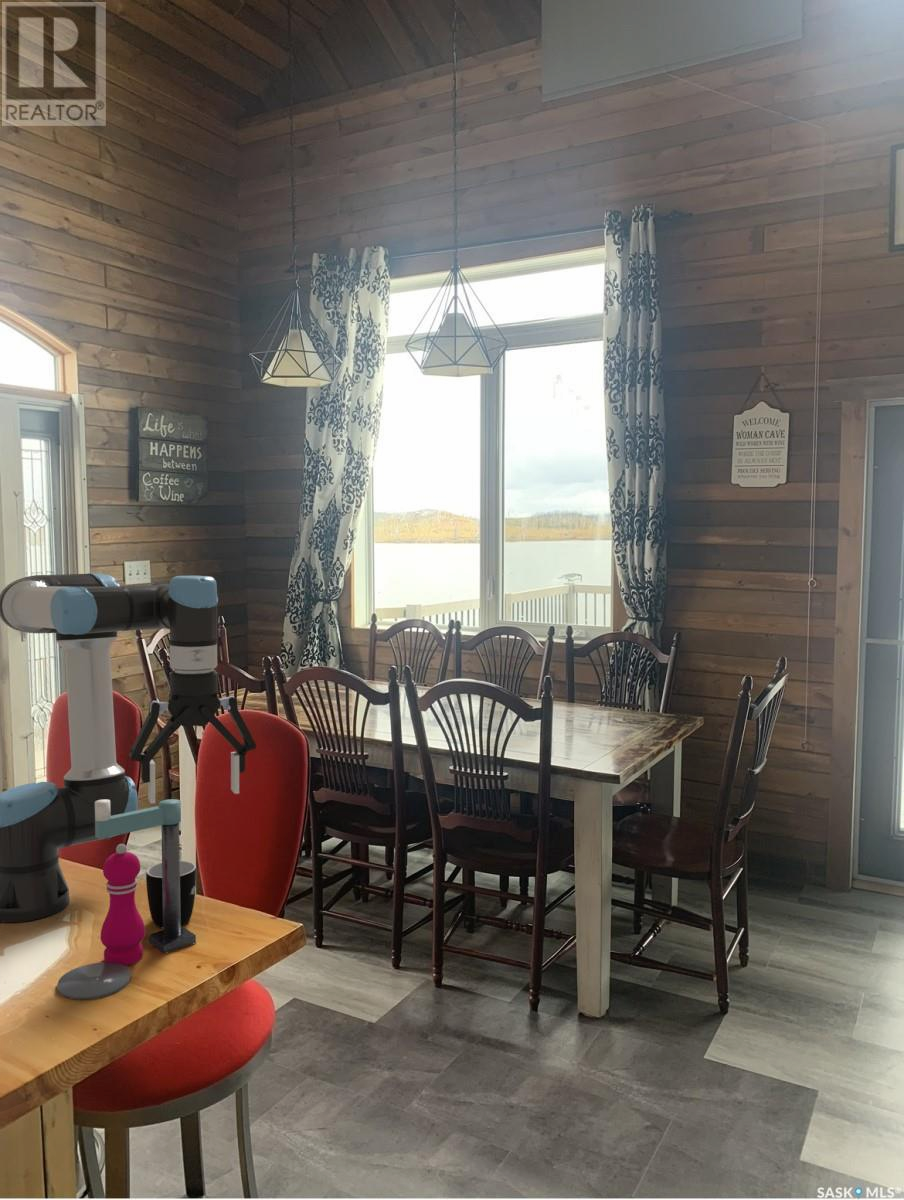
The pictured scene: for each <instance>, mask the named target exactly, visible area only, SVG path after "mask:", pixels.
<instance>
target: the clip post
mask: <svg viewBox="0 0 904 1200" xmlns="http://www.w3.org/2000/svg"><path fill="white" fill-rule="evenodd" d="M160 826H161V827H160V828H161V863H162V892H163V928H162V930H158V931H155V932H151V933H149V934H148V941H147V942H148V944H149V945H151V944H152V945H151V946H152V947H154V948H155V949H157V950H158V951H160V952H162V953H163V954H164V955H165V954H167V952H168V953H170V951H171V952H173V950H174V951H177V950H180V949H183V948H186V947H188V945H189V946H191V944H192V945H194V944H193V943H195V944H197V936H196V935H197V934H195V933H193V932H192V931H190V930H189V929H187V928H186V927H184V926H183V925H182V926H181V912H180V861H181V860H180V859H181V858H180V857H181V856H180V855H181V854H180V853H181V852H180V822H179V823H177V824H172V825H160ZM185 946H186V947H185ZM182 947H183V948H182ZM179 948H180V949H179ZM176 949H177V950H176Z"/></svg>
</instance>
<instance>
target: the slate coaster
mask: <svg viewBox="0 0 904 1200" xmlns="http://www.w3.org/2000/svg"><path fill="white" fill-rule="evenodd" d="M131 973H132V972H131V969H130V968H129V967H128V965H127V966H125V965H123V964H119V963H113V962H94V963H88V964H85V965H82V966H81V965H80V966H77V967H75V968H73V969H70V970H69V971H67V972H65V973H64V974H63V975H62V976H61V977H60V978H58V979H59V980H58V982H57V992H58V994H59V995H61V997H63V998H67V999H69V998H71V999H70V1000H76V999H77V1000H78V999H79V1000H80V1001H81V999H82V1000H83V999H87V1000H93V999H94V998H95V999H99V998H98V997H100V998H104V997H107V996H110V995H112V994H115V993H117V992H119V991H121V990H122V989H124V988H125V987H126V986H127V985H128V984H129V983H130V981H131V977H132V976H131ZM103 996H104V997H103ZM79 1000H78V1001H79ZM83 1001H84V1000H83Z"/></svg>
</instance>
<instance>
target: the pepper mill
mask: <svg viewBox="0 0 904 1200" xmlns="http://www.w3.org/2000/svg"><path fill="white" fill-rule="evenodd" d="M127 850H128V848H127V845H126V844H124V843H120V844H117V846H116V848H115V853H112V854H110V855H109V856H108V857H107V858H106V859H105V861H104V862H103V867H102V873H103V874H102V875H103V877H104V878H105V879H106V880H107V881H106V892H107V893H108V894H109V907H108V911H107V914H106V917H105V919H104V921H103V923H102V926H101V929H100V942H101V943H102V945H103V946H104V947H105V948H104V949H103V961H104V962H113V963H119V964H123V965H125V966H127V967H128V966H130V965H133V964H135V963H137V962H140V961H141V959H143V955H144V952H143V950H144V949H143V944H142V943H141V942H142V941H143V940H144V938H145V936H146V925H145V923H144V920H143V918H142V916H141V914H140V912H139V910H138V908H137V905H136V900H135V899H136V898H135V895H136V890H137V889H138V887H139V886H138V879H137V877H138V875H139V874H140V872H141V862H140V859H139V858H138V856H137V855H136V854H134V853H132V852H129V851H127Z"/></svg>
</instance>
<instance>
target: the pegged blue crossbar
mask: <svg viewBox="0 0 904 1200" xmlns="http://www.w3.org/2000/svg"><path fill="white" fill-rule="evenodd" d="M158 803H159V804H158V805H155V806H151V807H147V808H143V809H142V808H141V809H137V811H132V812H127V813H123V814H118V815H113V816H111V814H110V800H107V799H103V800H97V801H95V837H96V838H98V839H100V840H103V839H102V838H107V837H111V836H113V837H116V835H117V836H121V835H124V834H128V833H132V832H136V831H141V830H147V829H150V828H151V829H152V828H154V827H158V826H161V825H172V824H177V823H179V824H180V823H181V822H182V810H181V809H182V808H181V807H182V806H181V805H182V803H181V800H180V799H175V798H174V799H173V798H171V799H170V798H169V799H164V800H161V801H159V802H158ZM120 834H121V835H120ZM111 838H112V837H111Z"/></svg>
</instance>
